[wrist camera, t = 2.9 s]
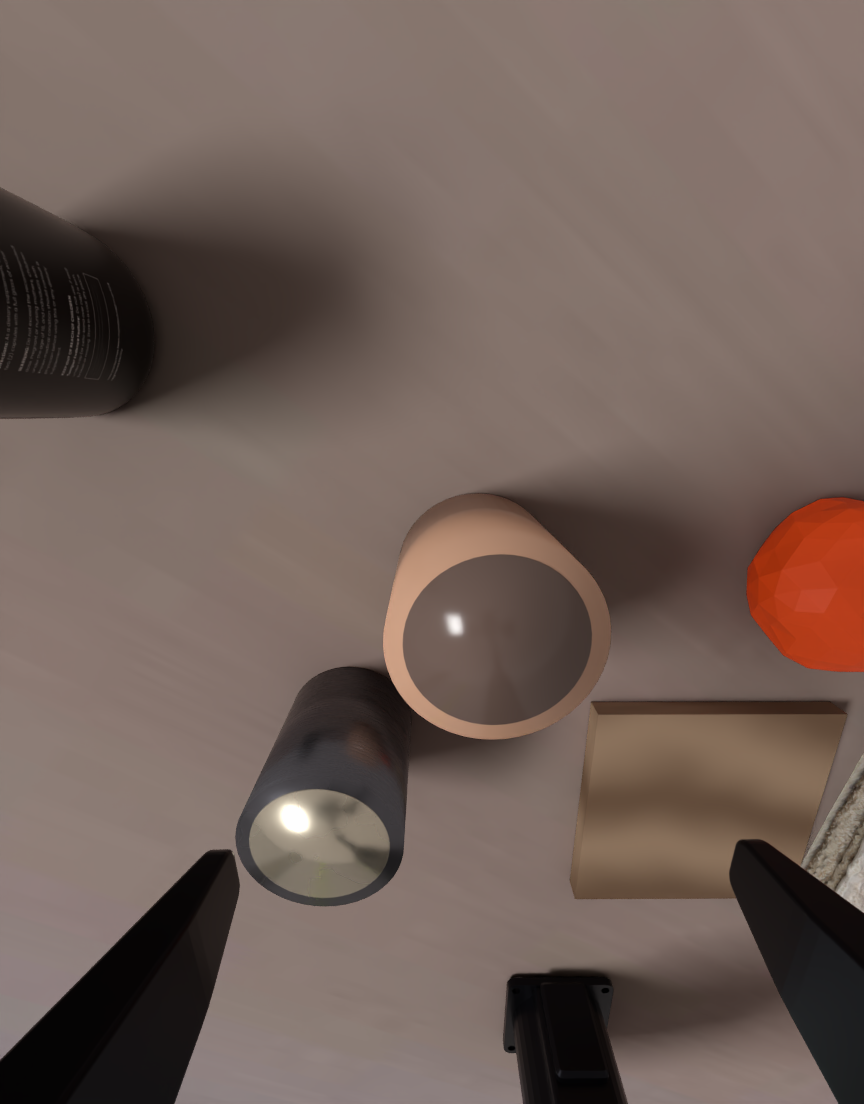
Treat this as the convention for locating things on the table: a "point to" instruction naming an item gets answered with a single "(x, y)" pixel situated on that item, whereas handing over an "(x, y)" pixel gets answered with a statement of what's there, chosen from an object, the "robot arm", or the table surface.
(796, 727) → the walnut board
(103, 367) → the supplement bottle
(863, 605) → the pumpkin
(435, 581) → the terracotta cup
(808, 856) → the washcloth
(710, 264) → the table surface
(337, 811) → the black metal can
